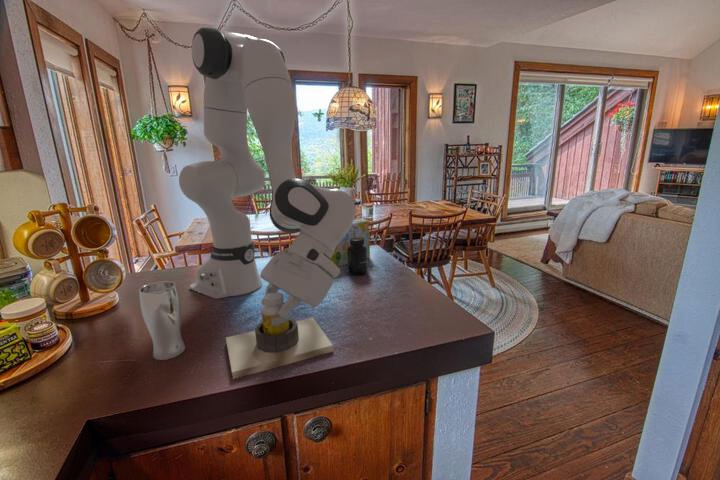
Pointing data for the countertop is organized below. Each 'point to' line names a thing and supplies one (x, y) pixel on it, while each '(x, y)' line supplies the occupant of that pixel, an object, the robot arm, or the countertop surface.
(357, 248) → the supplement bottle
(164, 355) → the beer glass
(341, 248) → the snack box
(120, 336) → the countertop surface
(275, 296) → the supplement bottle
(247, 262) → the robot arm
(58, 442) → the countertop surface
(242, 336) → the collar stand
